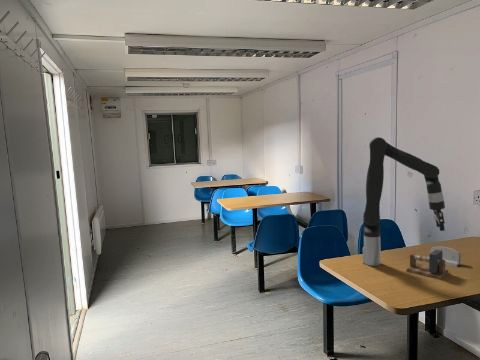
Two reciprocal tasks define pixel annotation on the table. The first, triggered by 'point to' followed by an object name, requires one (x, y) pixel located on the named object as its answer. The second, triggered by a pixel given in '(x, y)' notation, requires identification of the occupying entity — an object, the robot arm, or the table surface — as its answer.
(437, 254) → the collar
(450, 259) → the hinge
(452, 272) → the table surface
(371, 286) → the table surface
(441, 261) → the pipe stand
